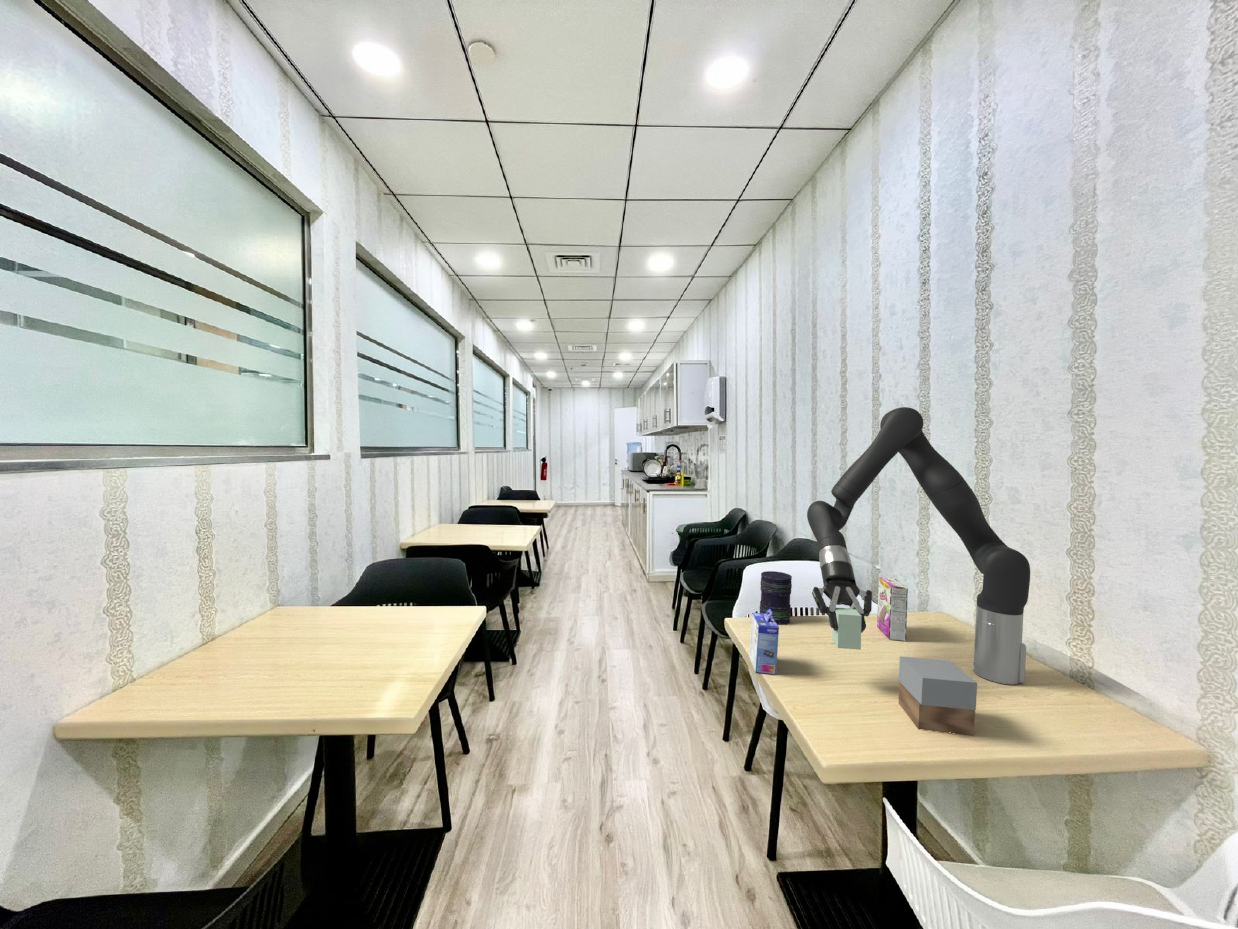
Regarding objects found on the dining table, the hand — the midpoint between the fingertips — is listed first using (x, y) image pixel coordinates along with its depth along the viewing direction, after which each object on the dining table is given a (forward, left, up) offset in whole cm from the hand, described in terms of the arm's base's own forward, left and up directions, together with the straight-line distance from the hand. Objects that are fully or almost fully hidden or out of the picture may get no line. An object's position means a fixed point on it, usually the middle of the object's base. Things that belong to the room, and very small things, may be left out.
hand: (848, 630), depth 110 cm
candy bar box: (-24, -40, -14) cm, 48 cm away
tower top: (-15, +10, -9) cm, 19 cm away
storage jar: (+10, -44, -14) cm, 47 cm away
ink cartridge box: (+18, -8, -14) cm, 24 cm away
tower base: (-15, +9, -14) cm, 22 cm away
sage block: (0, -2, -4) cm, 5 cm away
